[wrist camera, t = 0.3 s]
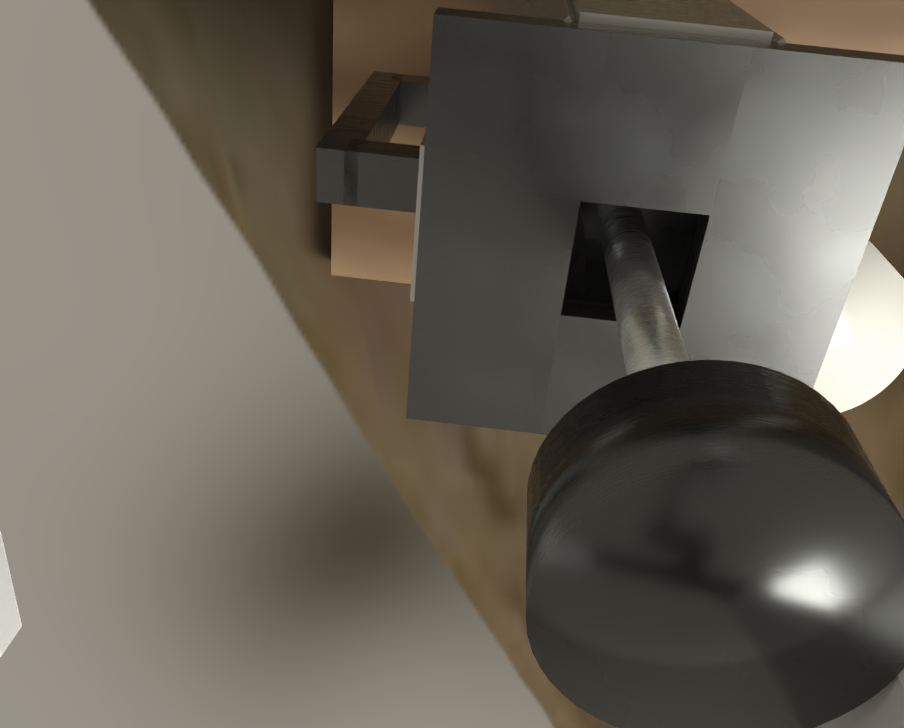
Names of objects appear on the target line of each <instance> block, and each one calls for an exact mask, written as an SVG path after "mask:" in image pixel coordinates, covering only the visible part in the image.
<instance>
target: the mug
mask: <svg viewBox="0 0 904 728" xmlns="http://www.w3.org/2000/svg"><path fill="white" fill-rule="evenodd" d="M903 368H904V279H903V277H902V276H901V275H900V274H899V273H898V272H897V271H896V270H895V269H894V267H893V266H892V265H891V264H890V263H889V262H888V261H887V260H886V259H885V257H884V256H883V255H882V254H881V253H880V252H879V251H878V250H877V249H876V247H875V246H874V245H873V244H872V243H871V242H870V241H869V240H868V243H867V246H866V248H865V251H864V254H863V256H862V259H861V262H860V264H859V267H858V270H857V272H856V275H855V278H854V280H853V283H852V286H851V288H850V291H849V294H848V296H847V299H846V302H845V304H844V307H843V310H842V312H841V315H840V318H839V320H838V323H837V326H836V328H835V331H834V334H833V336H832V339H831V342H830V344H829V347H828V350H827V352H826V355H825V358H824V360H823V363H822V366H821V368H820V371H819V374H818V376H817V379H816V382H815V384H814V387H813V389H814V390H816V391H817V392H819V393H820V394H821V395H822V396H823V397H825V398H826V399H827V400H828V401H829V402H831V403H832V404H833V405H834V406H835V407H836V408H837V410H838V411H839V412H840V413H841V412H843V411H846V410H849V409H852V408H854V407H856V406H858V405H860V404H862V403H864V402H866V401H867V400H869V399H871V398H873V397H874V396H875V395H877V394H878V393H880V392H881V391H882V390H884V389H885V388H886V387H887V386H888V385H889V384H890V383H891V382H892V381H893V380H894V379H895V378H896V377H897V376H898V375H899V374H900V373H901V371H902V370H903Z"/></svg>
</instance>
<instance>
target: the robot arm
mask: <svg viewBox="0 0 904 728" xmlns="http://www.w3.org/2000/svg"><path fill="white" fill-rule="evenodd" d="M21 627H22V624H21V620H20V616H19V611H18V606H17V602H16V597H15V593H14V588H13V584H12V579H11V575H10V570H9V566H8V562H7V557H6V553H5V548H4V544H3V539H2V535H1V530H0V657H1V655H2V654H3V653H4V651H5V650H6V648H7V647H8V646H9V644H10V643H11V641H12V639H13V638H14V637H15V635H16V634H17V632H18V631H19V630H20V628H21ZM820 728H904V669H903V670H902V671H901V672H900V673H899V674H898V676H897V677H896V678H895V679H894V680H893V681H892V682H890V683H889V684H888V685H887V686H886V687H885V688H884V689H882V690H881V691H880V692H879V693H878V694H876V695H875V696H873V697H872V698H870V699H869V700H868V701H866V702H865V703H863V704H862V705H860V706H859V707H857V708H855V709H853V710H851V711H849V712H848V713H846V714H844V715H842V716H840V717H838V718H836V719H833V720H831V721H829V722H826V723H824V724H822V725H821V726H820Z"/></svg>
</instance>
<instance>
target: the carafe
mask: <svg viewBox="0 0 904 728" xmlns="http://www.w3.org/2000/svg"><path fill="white" fill-rule="evenodd" d="M398 125H407V126H416V127H425V128H426V131H425V134H424V137H423V139H422V142H421V144H420V146H417V145H408V144H398V143H389V142H390V140H391V138H392V136H393V134H394V132H395V130H396V128H397V127H398ZM903 147H904V55H896V54H887V53H877V52H867V51H858V50H848V49H839V48H829V47H819V46H810V45H800V44H790V43H786V41H785V39H784V38H783V37H782V36H780V35H779V34H777V33H776V32H774V31H773V30H772V29H770V28H769V27H767V26H766V25H764V24H763V23H761V22H760V21H758V20H757V19H756V18H754V17H753V16H751V15H750V14H748V13H747V12H745V11H744V10H742V9H741V8H740V7H738V6H737V5H735V4H734V3H732V2H731V1H729V0H495V1H494V2H493V3H492V4H491V5H489V6H488V7H487V8H486V9H485V10H484V11H483V12H482V11H472V10H463V9H453V8H443V7H438V8H437V10H436V11H435V13H434V15H433V30H432V45H431V60H430V74H429V77H425V76H416V75H406V74H397V73H387V72H378V71H373V73H372V74H371V75H370V77H369V78H368V79H367V81H366V82H365V83H364V85H363V86H362V87H361V89H360V90H359V91H358V93H357V94H356V95H355V97H354V98H353V99H352V101H351V102H350V103H349V104H348V106H347V107H346V108H345V110H344V111H343V112H342V114H341V115H340V116H339V118H338V119H337V120H336V122H335V123H334V124H333V126H332V127H331V128H330V130H329V131H328V132H327V134H326V135H325V136H324V138H323V139H322V140H321V142H320V143H319V144H318V145H317V147H316V202H320V203H329V204H339V205H348V206H357V207H366V208H375V209H384V210H393V211H402V212H411V213H416V217H415V232H414V248H413V263H412V278H411V294H410V301H414V308H413V310H414V311H413V326H412V341H411V356H410V370H409V385H408V400H407V415H406V418H409V419H418V420H426V421H435V422H443V423H452V424H460V425H469V426H478V427H486V428H495V429H503V430H512V431H520V432H529V433H538V434H546V435H548V434H549V432H550V431H551V430H552V429H553V427H554V426H555V425H556V424H557V423H558V422H559V420H560V419H561V418H562V417H563V416H564V415H565V414H566V413H567V412H569V411H570V410H571V409H572V408H573V407H574V406H575V405H576V404H577V403H579V402H580V401H582V400H583V399H585V398H586V397H587V396H589V395H590V394H592V393H593V392H595V391H596V390H598V389H600V388H602V387H604V386H605V385H607V384H609V383H611V382H613V381H615V380H617V379H620V378H622V377H625V376H627V374H626V369H625V363H624V358H623V353H622V348H621V342H620V337H619V332H618V326H617V321H616V316H615V310H614V305H613V303H606V302H597V301H588V300H579V299H570V298H564V293H565V287H566V282H567V276H568V270H569V264H570V259H571V253H572V247H573V241H574V236H575V230H576V224H577V218H578V213H579V207H580V201H582V202H591V203H601V204H610V205H619V206H628V207H637V208H646V209H655V210H665V211H674V212H683V213H692V214H699V215H698V219H697V223H696V227H695V231H694V235H693V239H692V243H691V247H690V251H689V255H688V259H687V263H686V267H685V270H684V274H683V278H682V282H681V286H680V287H678V288H677V289H675V290H673V291H671V292H669V293H668V296H669V299H670V302H671V305H672V308H673V312H674V315H675V318H676V321H677V324H678V327H679V330H680V334H681V337H682V340H683V343H684V346H685V349H686V352H687V355H688V359H689V361H693V360H725V361H737V362H743V363H748V364H754V365H759V366H762V367H766V368H769V369H772V370H776V371H779V372H781V373H784V374H786V375H788V376H791V377H793V378H795V379H797V380H800V381H801V382H803V383H804V384H806V385H808V386H809V387H811V388H813V387H814V384H815V382H816V379H817V376H818V374H819V371H820V368H821V366H822V363H823V360H824V358H825V355H826V352H827V350H828V347H829V344H830V342H831V339H832V336H833V334H834V331H835V328H836V326H837V323H838V320H839V318H840V315H841V312H842V310H843V307H844V304H845V302H846V299H847V296H848V294H849V291H850V288H851V286H852V283H853V280H854V278H855V275H856V272H857V270H858V267H859V264H860V262H861V259H862V256H863V254H864V251H865V248H866V246H867V243H868V240H869V238H870V235H871V232H872V230H873V227H874V224H875V222H876V219H877V216H878V214H879V211H880V208H881V206H882V203H883V200H884V198H885V195H886V192H887V190H888V187H889V184H890V182H891V179H892V176H893V174H894V171H895V168H896V166H897V163H898V160H899V158H900V155H901V152H902V150H903Z"/></svg>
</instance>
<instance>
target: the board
mask: <svg viewBox="0 0 904 728" xmlns="http://www.w3.org/2000/svg"><path fill="white" fill-rule="evenodd" d="M494 1H495V0H333V113H332V126H333V124H334V123H335V122H336V120H337V119H338V118H339V116H340V115H341V114H342V112H343V111H344V110H345V108H346V107H347V106H348V104H349V103H350V102H351V101H352V99H353V98H354V97H355V95H356V94H357V93H358V91H359V90H360V89H361V87H362V86H363V85H364V83H365V82H366V81H367V79H368V78H369V77H370V75H371V74H372V73H373V71H378V72H387V73H397V74H406V75H416V76H425V77H429V74H430V60H431V45H432V30H433V15H434V13H435V11H436V10H437V8H438V7H443V8H453V9H463V10H472V11H482V12H483V11H484V10H485V9H486V8H487V7H488V6H489V5H491V4H492V3H493V2H494ZM729 1H731V2H732V3H734V4H735V5H737V6H738V7H740V8H741V9H742V10H744V11H745V12H747V13H748V14H750V15H751V16H753V17H754V18H756V19H757V20H758V21H760V22H761V23H763V24H764V25H766V26H767V27H769V28H770V29H772V30H773V31H774V32H776V33H777V34H779V35H780V36H782V37H783V38H784V39H785V41H786V43H790V44H800V45H810V46H819V47H829V48H839V49H848V50H858V51H867V52H877V53H887V54H896V55H904V0H729ZM425 131H426V128H425V127H416V126H407V125H398V127H397V128H396V130H395V132H394V134H393V136H392V138H391V140H390V142H389V143H398V144H408V145H417V146H420V144H421V142H422V139H423V137H424V134H425ZM415 217H416V213H411V212H402V211H393V210H384V209H375V208H366V207H357V206H348V205H339V204H332V234H331V275H336V276H345V277H354V278H363V279H372V280H381V281H390V282H399V283H408V284H411V278H412V263H413V248H414V232H415Z"/></svg>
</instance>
